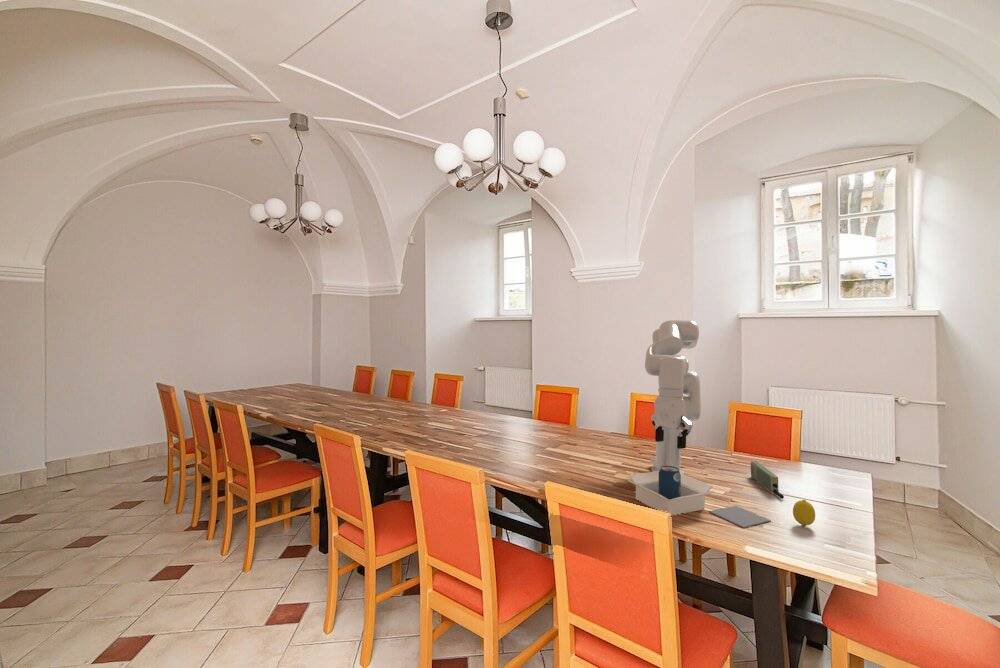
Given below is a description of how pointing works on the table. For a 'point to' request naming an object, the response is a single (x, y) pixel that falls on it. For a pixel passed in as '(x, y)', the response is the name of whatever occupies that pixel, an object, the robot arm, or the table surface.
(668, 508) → the carton
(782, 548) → the table surface
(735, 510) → the mat
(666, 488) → the soda can
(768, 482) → the handheld radio
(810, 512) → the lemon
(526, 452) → the table surface
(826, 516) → the table surface
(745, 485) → the table surface
